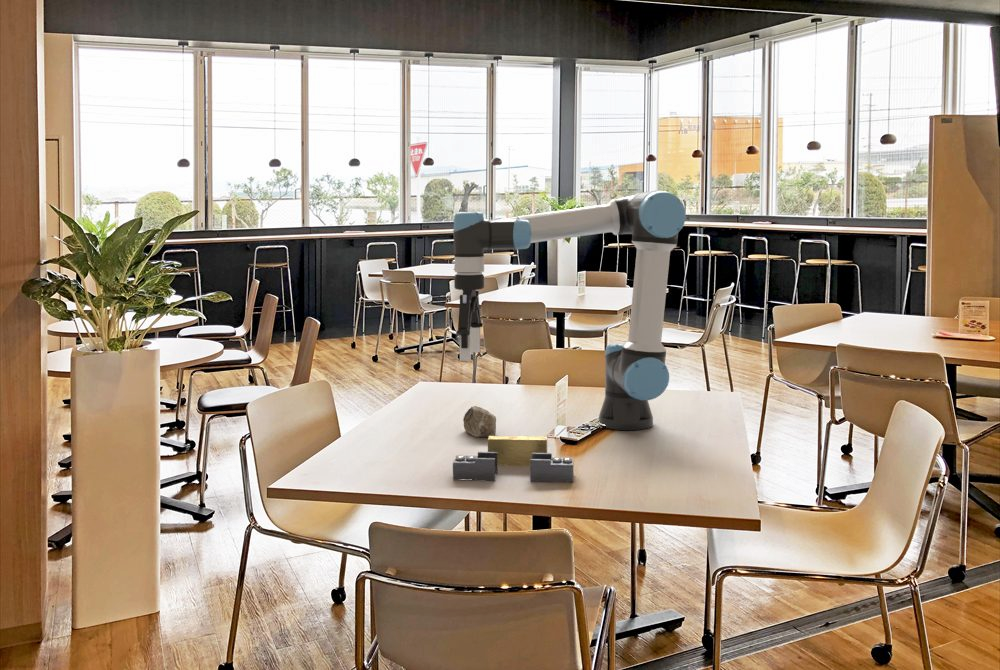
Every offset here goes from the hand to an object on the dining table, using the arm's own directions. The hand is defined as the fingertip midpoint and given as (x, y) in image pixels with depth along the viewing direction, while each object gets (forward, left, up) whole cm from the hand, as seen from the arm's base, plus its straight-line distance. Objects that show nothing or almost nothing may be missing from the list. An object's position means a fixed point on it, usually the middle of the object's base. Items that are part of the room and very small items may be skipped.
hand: (470, 356), depth 229 cm
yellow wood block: (-14, +17, -23) cm, 32 cm away
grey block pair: (-14, +28, -23) cm, 39 cm away
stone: (-1, -11, -23) cm, 26 cm away
